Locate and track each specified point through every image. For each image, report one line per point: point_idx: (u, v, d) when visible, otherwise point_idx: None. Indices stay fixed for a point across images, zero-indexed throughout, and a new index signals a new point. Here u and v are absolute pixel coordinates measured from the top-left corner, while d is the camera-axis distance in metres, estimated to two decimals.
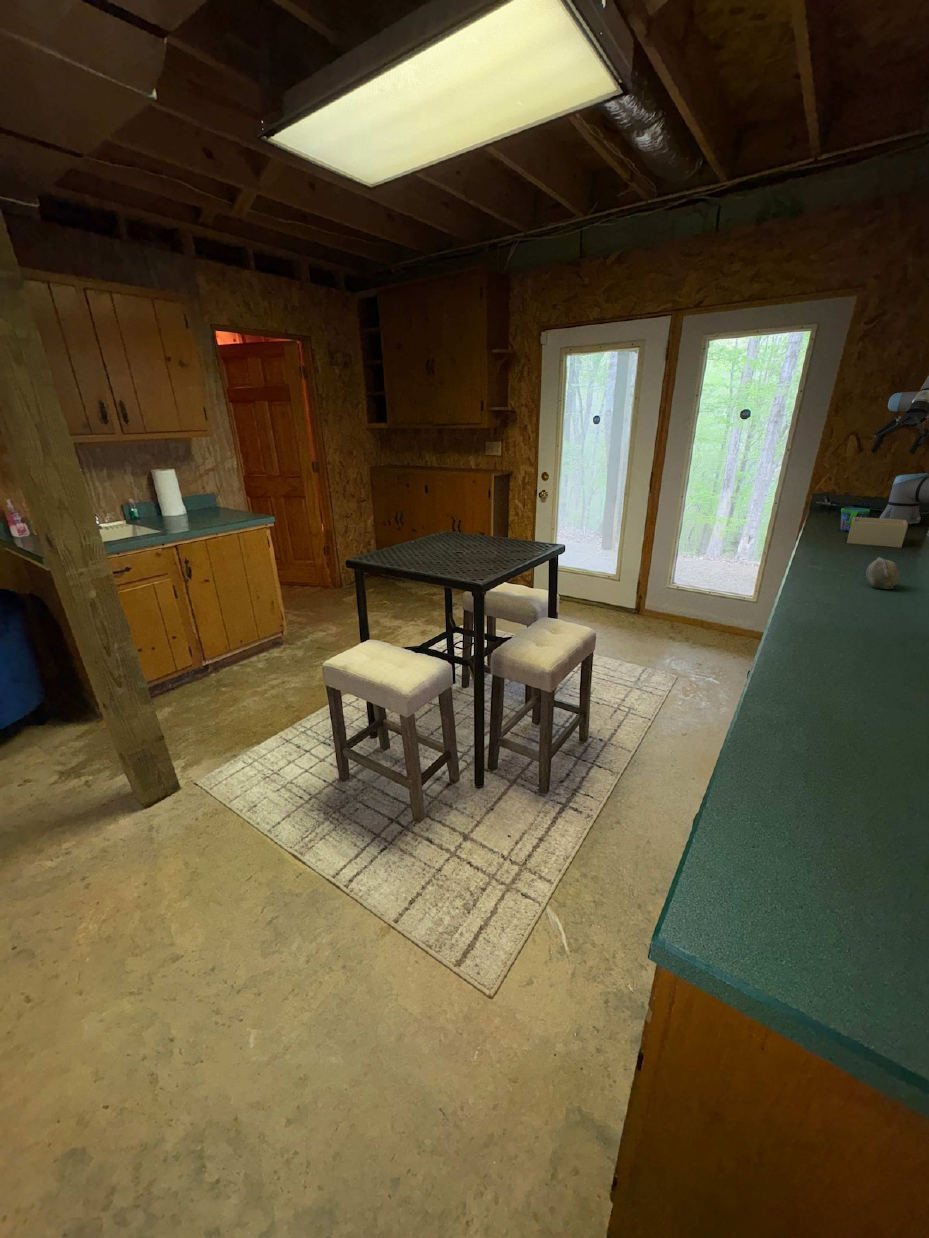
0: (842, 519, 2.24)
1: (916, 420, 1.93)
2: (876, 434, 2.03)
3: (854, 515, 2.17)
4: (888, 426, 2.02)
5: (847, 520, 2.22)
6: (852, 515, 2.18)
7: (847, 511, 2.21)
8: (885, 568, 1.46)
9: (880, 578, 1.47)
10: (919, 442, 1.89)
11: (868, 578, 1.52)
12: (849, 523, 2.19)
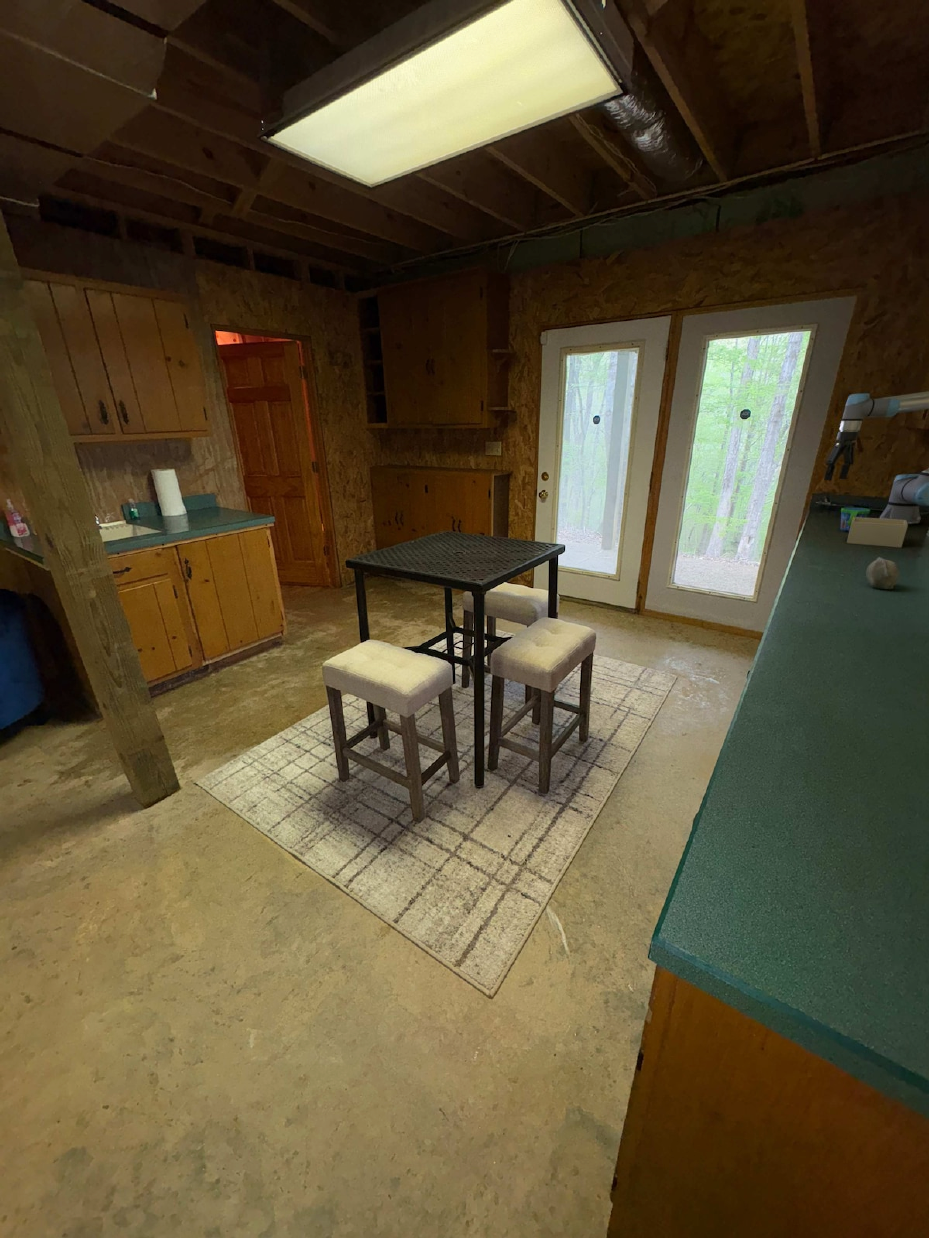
0: (842, 519, 2.24)
1: None
2: None
3: (854, 515, 2.17)
4: None
5: (847, 520, 2.22)
6: (852, 515, 2.18)
7: (847, 511, 2.21)
8: (885, 568, 1.46)
9: (880, 578, 1.47)
10: None
11: (868, 578, 1.52)
12: (849, 523, 2.19)
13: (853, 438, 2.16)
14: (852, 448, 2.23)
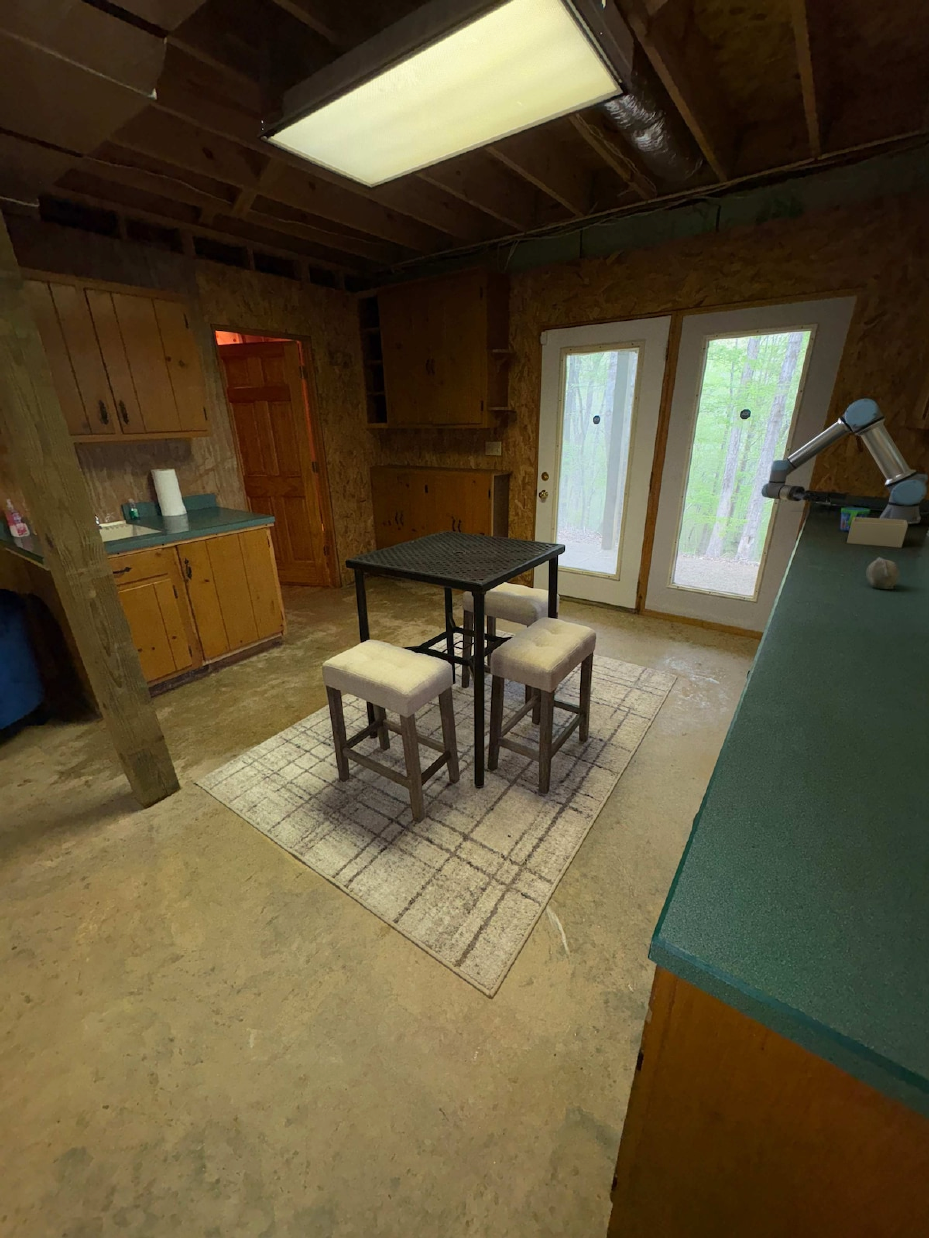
0: (842, 519, 2.24)
1: None
2: None
3: (854, 515, 2.17)
4: None
5: (847, 520, 2.22)
6: (852, 515, 2.18)
7: (847, 511, 2.21)
8: (885, 568, 1.46)
9: (880, 578, 1.47)
10: (816, 499, 2.30)
11: (868, 578, 1.52)
12: (849, 523, 2.19)
13: (797, 487, 2.43)
14: None
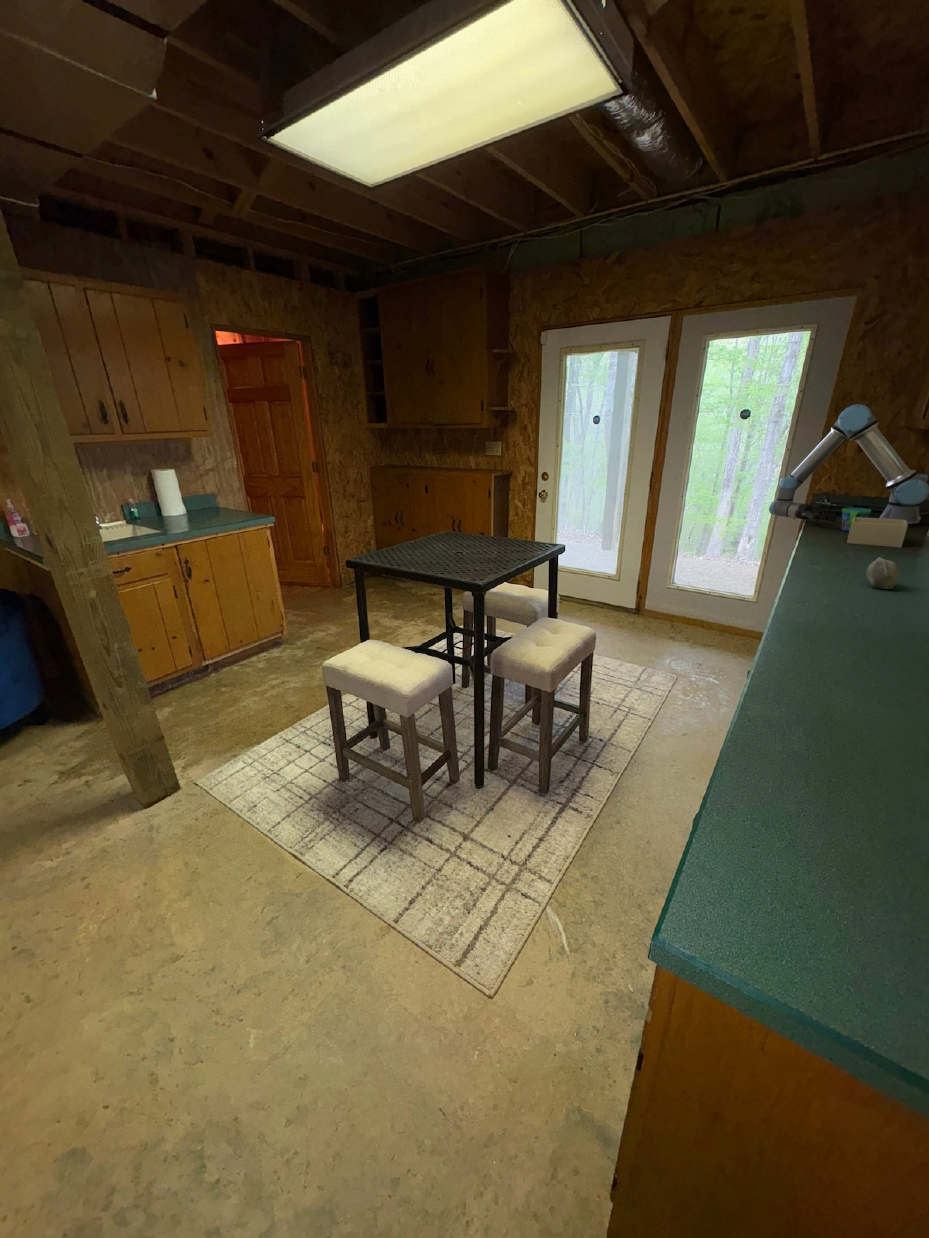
0: (843, 519, 2.24)
1: None
2: None
3: (854, 515, 2.17)
4: None
5: (847, 520, 2.21)
6: (852, 515, 2.17)
7: (847, 511, 2.20)
8: (885, 568, 1.46)
9: (880, 578, 1.47)
10: (825, 518, 2.28)
11: (868, 578, 1.52)
12: (849, 523, 2.19)
13: (806, 505, 2.41)
14: None
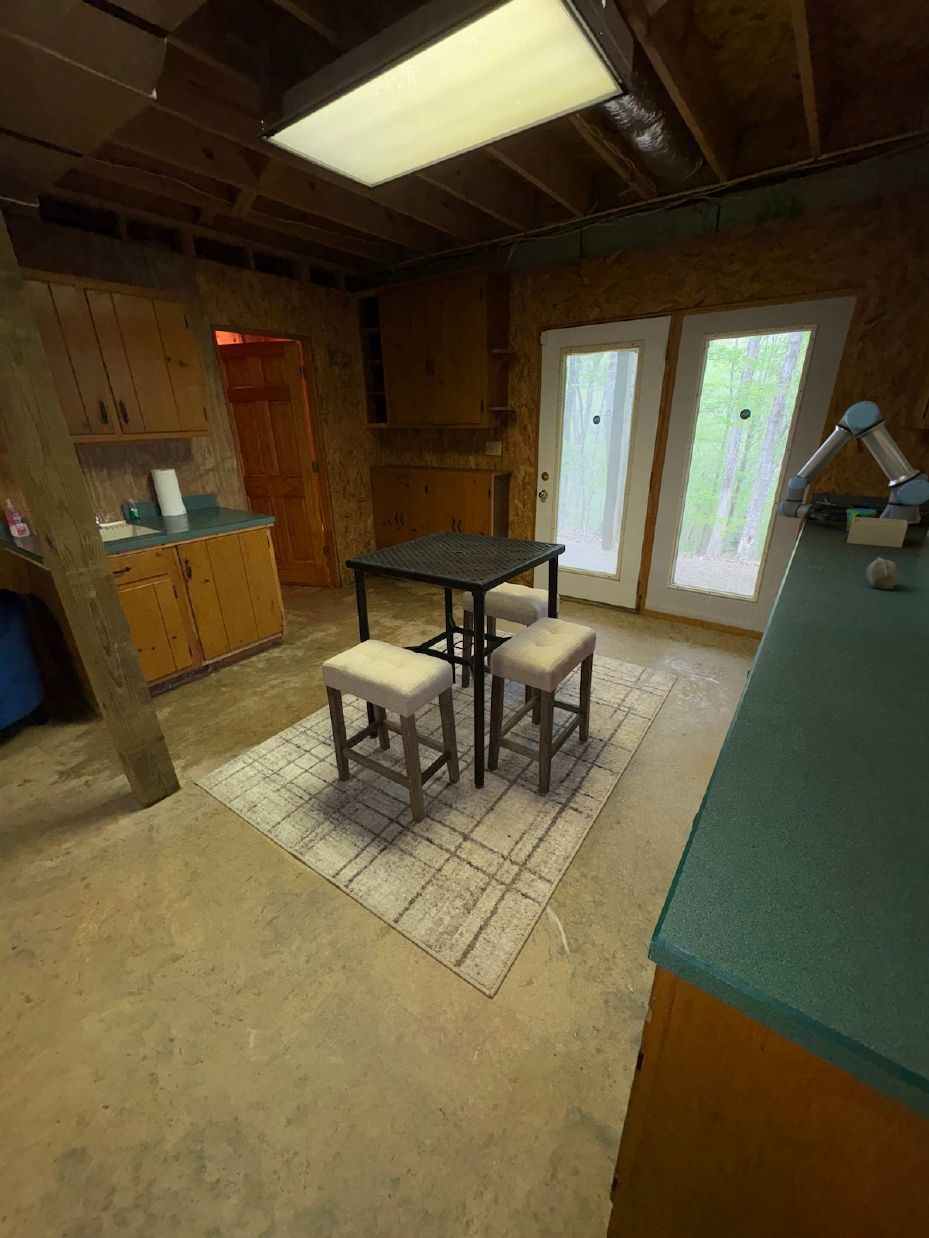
0: (847, 520, 2.22)
1: None
2: None
3: (853, 516, 2.16)
4: None
5: None
6: (851, 516, 2.16)
7: (849, 512, 2.19)
8: (885, 568, 1.46)
9: (880, 578, 1.47)
10: None
11: (868, 578, 1.52)
12: (848, 524, 2.18)
13: (815, 506, 2.36)
14: None
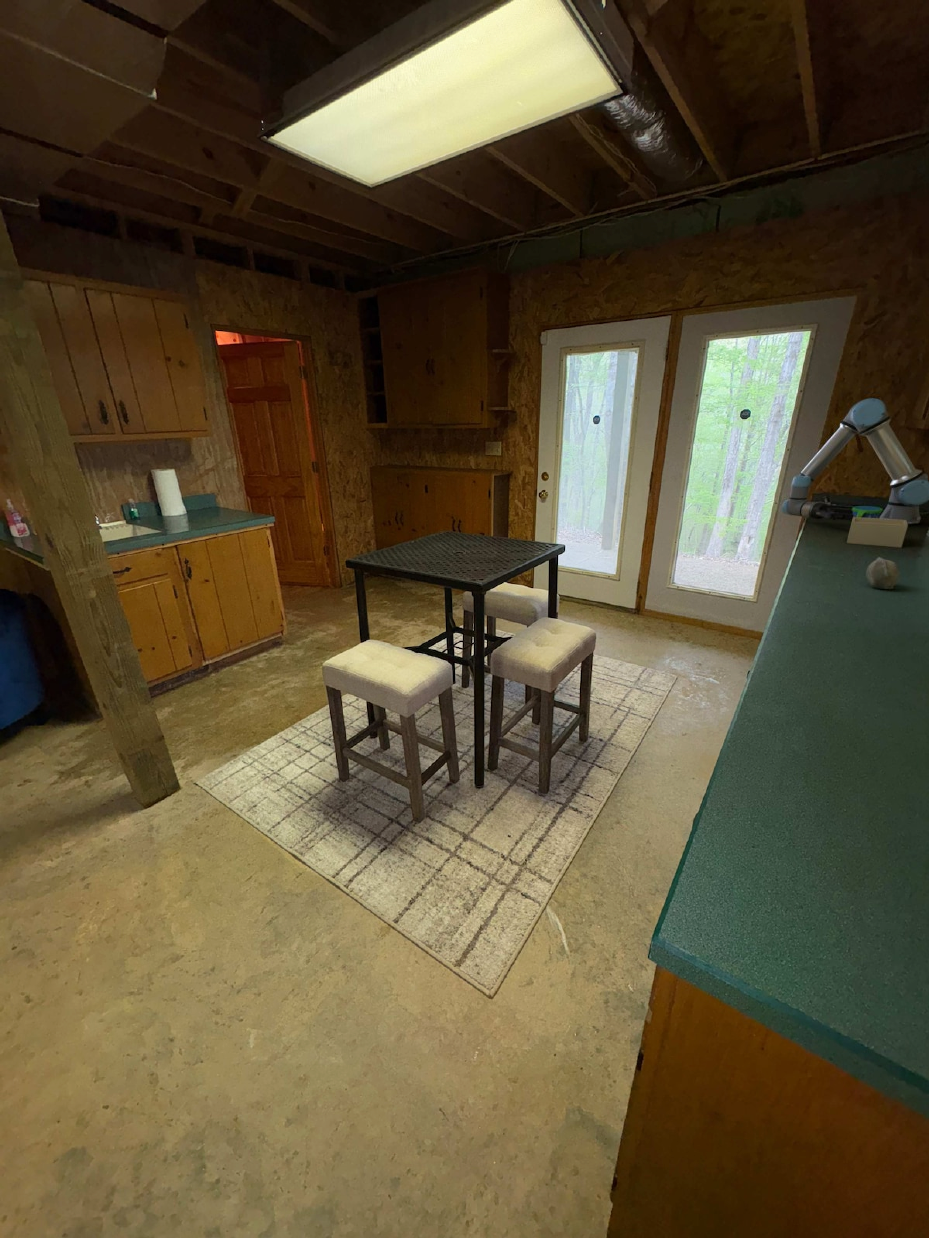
0: None
1: None
2: None
3: (860, 515, 2.13)
4: None
5: None
6: (858, 514, 2.14)
7: (856, 510, 2.16)
8: (885, 568, 1.46)
9: (880, 578, 1.47)
10: (841, 518, 2.21)
11: (868, 578, 1.52)
12: None
13: (820, 504, 2.34)
14: (839, 509, 2.34)
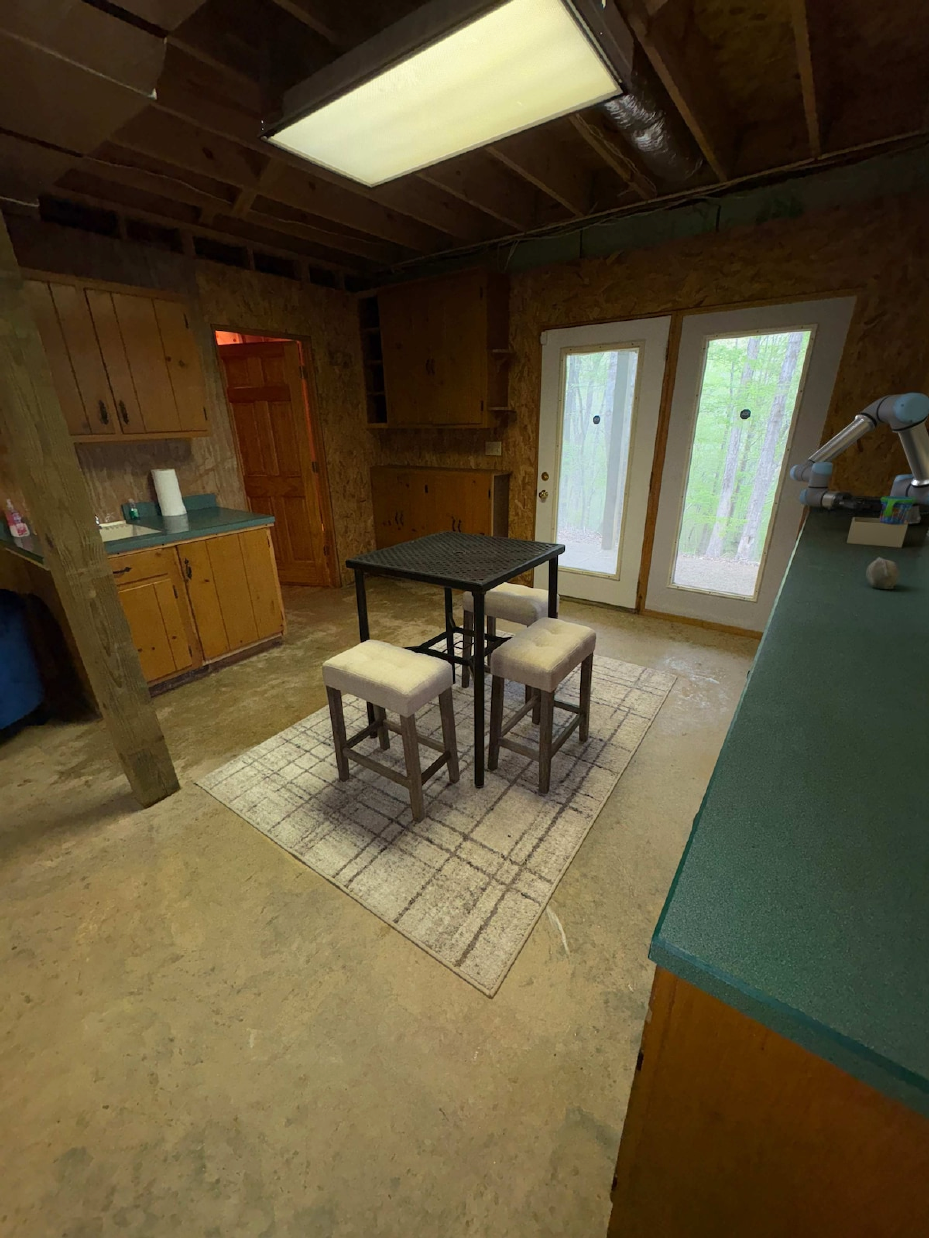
0: None
1: None
2: None
3: (891, 504, 1.89)
4: None
5: None
6: (889, 504, 1.89)
7: (885, 500, 1.92)
8: (885, 568, 1.46)
9: (880, 578, 1.47)
10: (869, 508, 1.97)
11: (868, 578, 1.52)
12: (885, 513, 1.91)
13: (844, 493, 2.10)
14: None
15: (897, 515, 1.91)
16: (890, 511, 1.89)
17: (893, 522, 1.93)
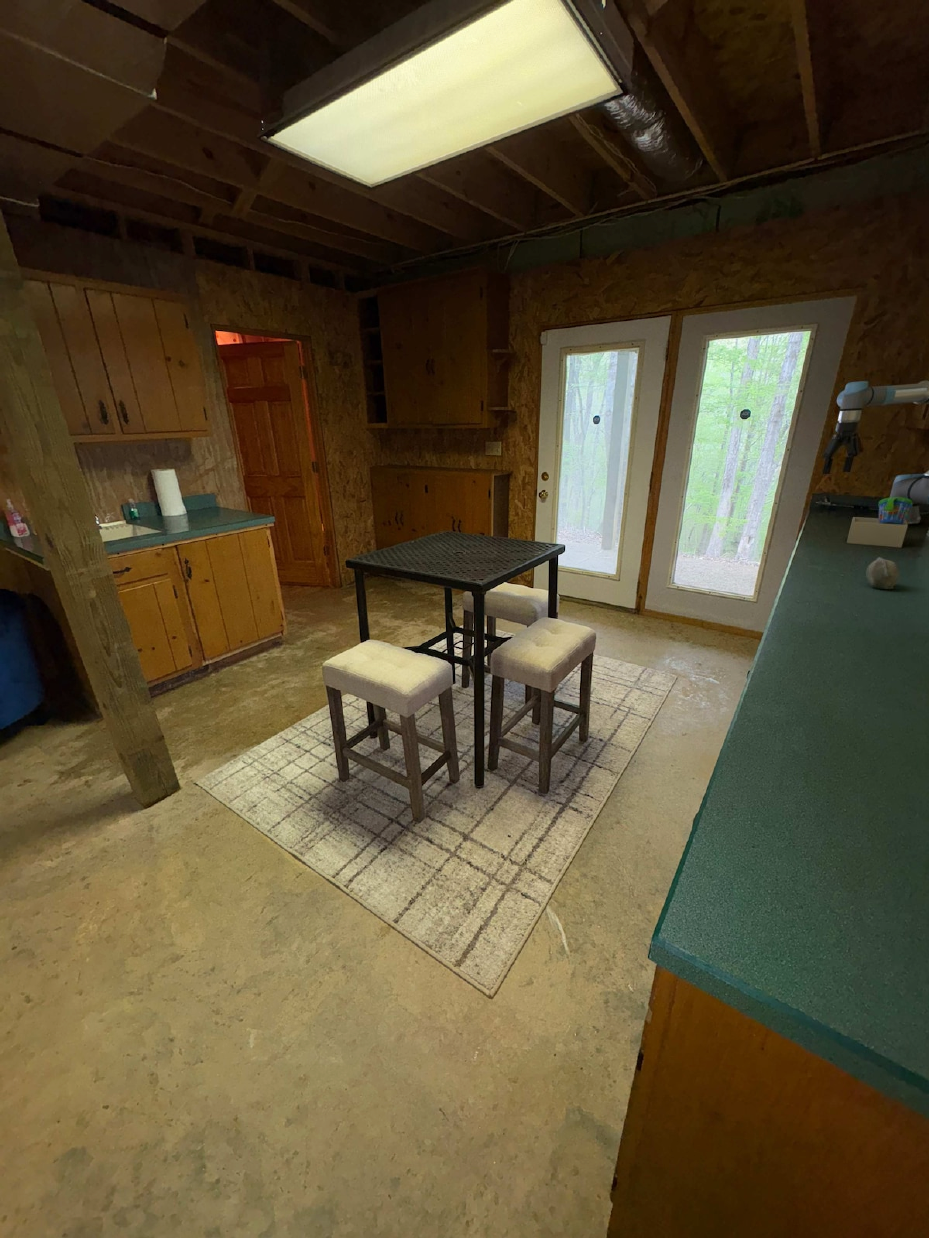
0: (880, 511, 1.98)
1: None
2: None
3: (892, 499, 1.92)
4: (852, 444, 2.13)
5: (885, 509, 1.95)
6: (890, 499, 1.92)
7: (884, 500, 1.96)
8: (885, 568, 1.46)
9: (880, 578, 1.47)
10: None
11: (868, 578, 1.52)
12: (886, 507, 1.92)
13: (852, 429, 2.04)
14: (855, 439, 2.11)
15: (897, 513, 1.92)
16: (891, 505, 1.91)
17: (893, 520, 1.93)
